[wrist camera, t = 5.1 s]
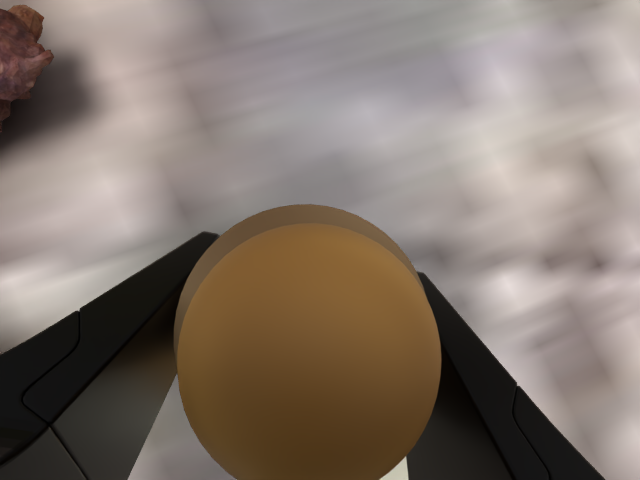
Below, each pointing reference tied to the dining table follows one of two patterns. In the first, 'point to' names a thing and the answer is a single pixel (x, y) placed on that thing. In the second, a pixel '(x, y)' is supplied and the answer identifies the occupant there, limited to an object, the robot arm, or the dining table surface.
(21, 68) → the pine cone
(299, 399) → the orange ball tube
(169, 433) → the dining table surface
